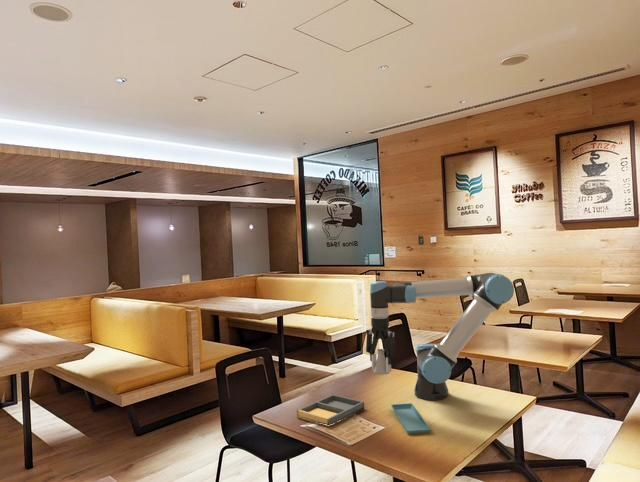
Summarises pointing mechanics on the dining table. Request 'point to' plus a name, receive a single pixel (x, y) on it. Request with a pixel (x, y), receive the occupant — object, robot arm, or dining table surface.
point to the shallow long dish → (410, 419)
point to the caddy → (330, 409)
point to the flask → (380, 363)
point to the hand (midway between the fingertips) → (381, 370)
